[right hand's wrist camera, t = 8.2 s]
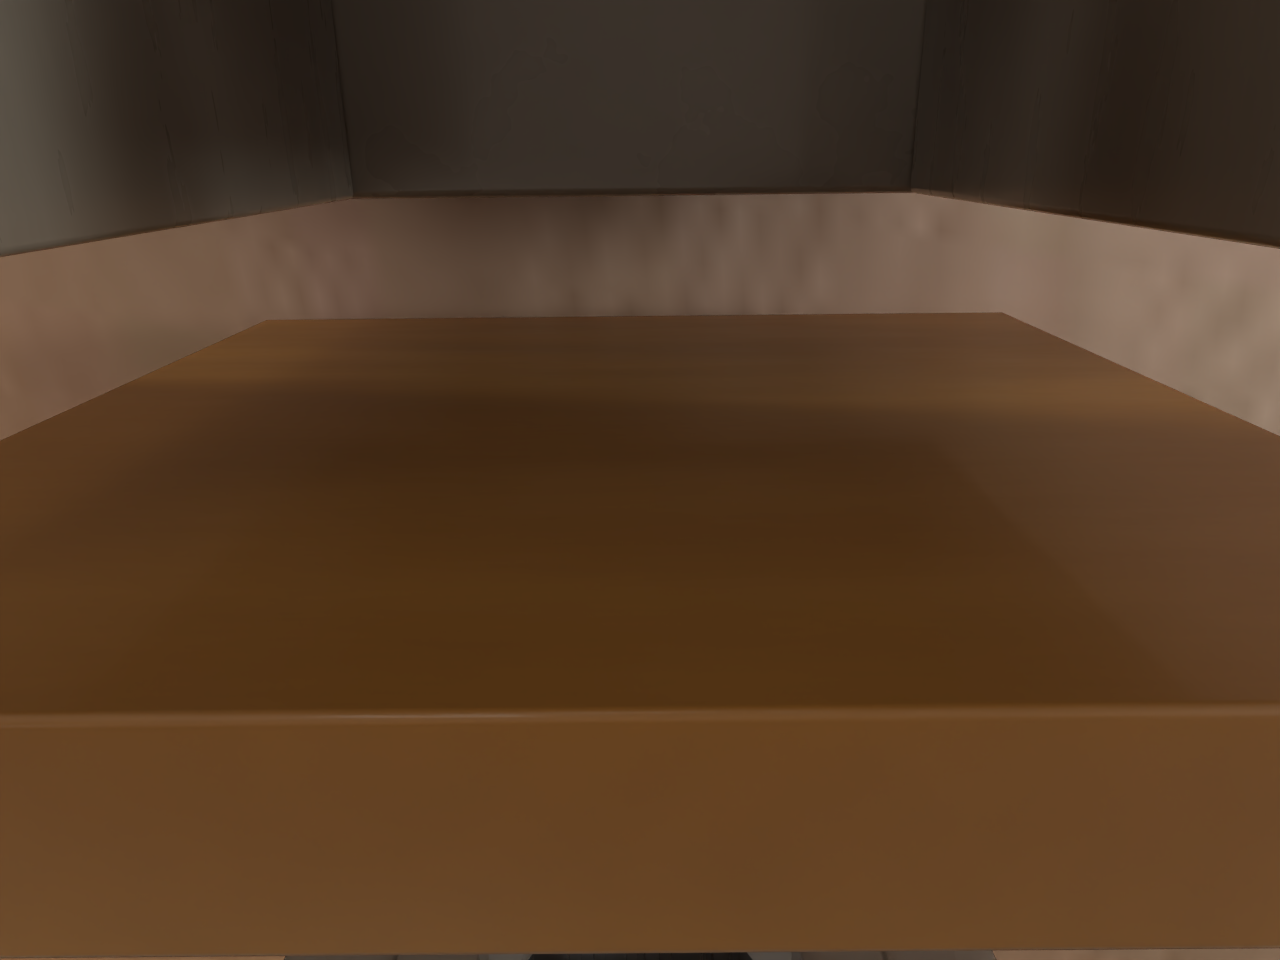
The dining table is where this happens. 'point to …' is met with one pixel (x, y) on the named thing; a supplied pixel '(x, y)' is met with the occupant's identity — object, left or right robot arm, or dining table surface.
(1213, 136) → the drawer
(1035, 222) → the dining table surface
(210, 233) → the dining table surface
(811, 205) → the dining table surface
